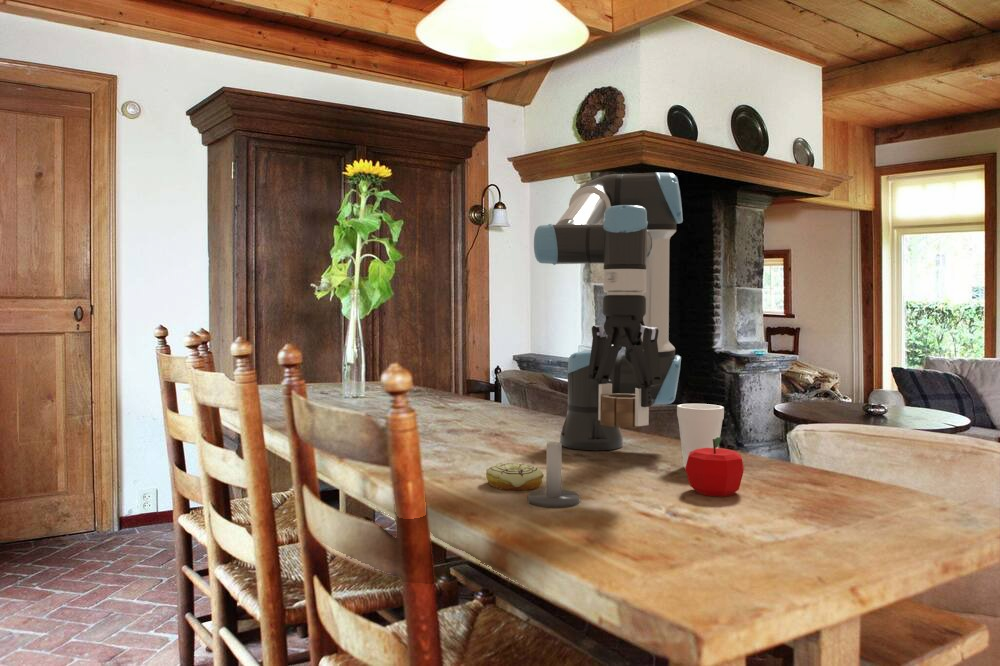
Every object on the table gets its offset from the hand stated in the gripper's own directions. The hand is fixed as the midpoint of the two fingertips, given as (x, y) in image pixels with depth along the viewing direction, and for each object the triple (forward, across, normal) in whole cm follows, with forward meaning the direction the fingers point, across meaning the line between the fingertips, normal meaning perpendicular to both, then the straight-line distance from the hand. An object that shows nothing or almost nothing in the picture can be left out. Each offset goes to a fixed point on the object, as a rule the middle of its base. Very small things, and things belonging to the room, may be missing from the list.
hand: (622, 422), depth 142 cm
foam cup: (+14, -7, +32) cm, 35 cm away
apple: (+14, +8, +16) cm, 23 cm away
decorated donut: (+14, -19, -9) cm, 25 cm away
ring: (0, 0, 0) cm, 0 cm away
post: (+13, -5, -12) cm, 19 cm away
